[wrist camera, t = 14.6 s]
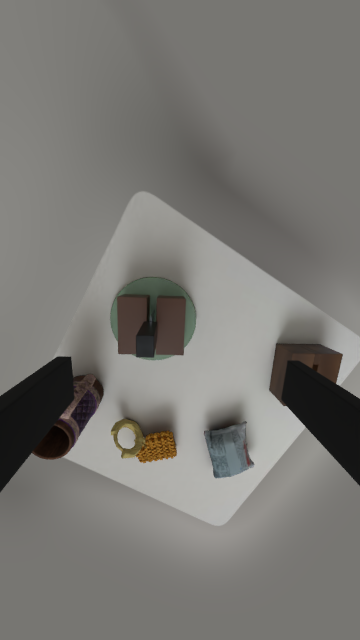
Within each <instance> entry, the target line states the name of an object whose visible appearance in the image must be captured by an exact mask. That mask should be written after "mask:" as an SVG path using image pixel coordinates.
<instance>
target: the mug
mask: <svg viewBox="0 0 360 640" xmlns="http://www.w3.org/2000/svg"><path fill="white" fill-rule="evenodd" d="M73 385H74V397H75V399H74V400H73V401H72V403H71V404H70V405H69V406H68V408H67V409H66V410H65V411H64V413H63V414H62V415H61V417H60V418H59V419H58V420H57V422H56V423H55V424H54V425H53V427H52V428H51V429H50V430H49V432H48V433H47V434H46V435H45V437H44V438H43V439H42V440H41V442H40V443H39V444H38V445H37V447H36V448H35V449H34V450H33V452H32V453H33V454H34V455H36V456H38V457H40V458H43V459H58V458H61V457H63V456H64V455H66V454H67V453H68V452H69V451H70V449H71V448H72V447H73V446H74V445H75V443H76V441H77V440H78V437H79V436H80V434H81V432H82V431H83V429H84V428H85V426H86V424H87V423H88V421H89V419H90V418H91V417H92V416H93V414H94V413H95V412H96V410H97V408H98V406H99V404H100V402H101V400H102V397H103V388H102V385H101V384H100V383H99V382H98V381H97V380H96V378H95V376H94V375H92V374H87V375H86V376H77V377H75V378H73Z"/></svg>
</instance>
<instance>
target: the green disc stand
mask: <svg viewBox="0 0 360 640" xmlns="http://www.w3.org/2000/svg"><path fill="white" fill-rule="evenodd" d="M153 310H155V322H158V332H157V343H156V349H155V355H154V358H146V357H139V358H142V359H146V360H162V359H166V358H169V357H171V356H174V355H183V353H184V347H185V346H186V345H187V344H188V343H189V341H190V339H191V338H192V335H193V333H194V330H195V324H196V314H195V309H194V306H193V303H192V301H191V299H190V298H189V296H188V295H187V293H186V292H185V291H184V290H183V289H182V288H181V287H179V286H178V285H177V284H175V283H173V282H172V281H169V280H167V279H163V278H157V277H147V278H142V279H139V280H136V281H134V282H132V283H130V284H128V285H127V286H126V287H125V288H123V289H122V290H121V292H120V293H119V294H118V295H117V297H116V298H115V301H114V303H113V305H112V309H111V316H110V320H111V327H112V331H113V333H114V336H115V338H116V340H117V341H118V354H132V355H134V356H136V335H137V333H138V331H139V329H140V328H141V326H142V324H143V322H144V321H147V322H150V315H151V313H152V311H153Z"/></svg>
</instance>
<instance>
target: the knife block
mask: <svg viewBox="0 0 360 640" xmlns="http://www.w3.org/2000/svg"><path fill="white" fill-rule="evenodd" d="M342 356H343V354H341V353H339V352H336V351H334V350H332V349H329V348H327V347H325V346H322V345H318V344H276V350H275V356H274V363H273V369H272V376H271V382H270V389H269V390H270V391H271V393H272V394H273V395H274V396H275V397H276V398H277V399H278V400H279V401H280V402H281V404H282V405H283V406H286V405H285V404H284V402H283V401H282V400H281V396H282V390H283V384H284V378H285V372H286V366H287V360H298V361H301V362H302V363H304V364H306V365H307V366H309V367H310V368H312V369H313V370H315V371H317V372H318V373H320V374H321V375H323V376H324V377H326V378H328V379H329V380H331V381H332V382H334V383H336V381H337V377H338V373H339V368H340V364H341V360H342Z"/></svg>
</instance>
